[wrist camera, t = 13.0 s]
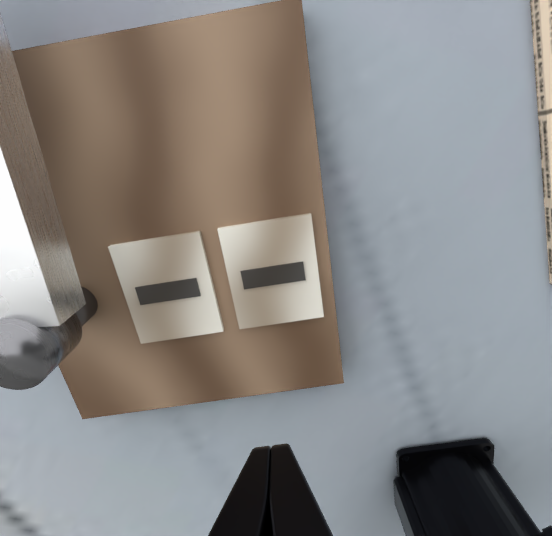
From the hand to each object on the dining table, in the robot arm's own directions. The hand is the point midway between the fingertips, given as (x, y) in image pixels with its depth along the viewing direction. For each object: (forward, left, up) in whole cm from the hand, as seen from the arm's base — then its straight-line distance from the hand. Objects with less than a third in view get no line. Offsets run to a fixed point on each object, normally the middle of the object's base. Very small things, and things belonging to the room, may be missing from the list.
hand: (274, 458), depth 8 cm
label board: (+5, -3, -12) cm, 13 cm away
